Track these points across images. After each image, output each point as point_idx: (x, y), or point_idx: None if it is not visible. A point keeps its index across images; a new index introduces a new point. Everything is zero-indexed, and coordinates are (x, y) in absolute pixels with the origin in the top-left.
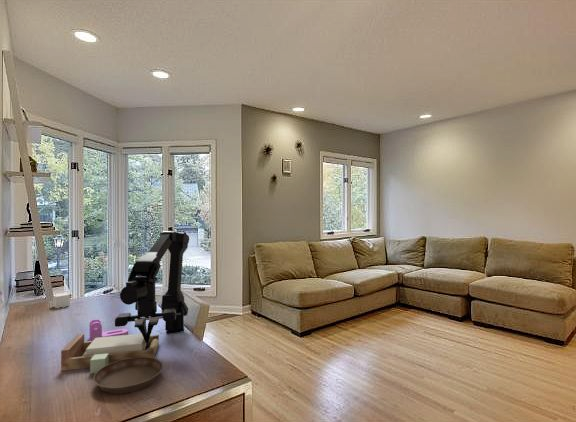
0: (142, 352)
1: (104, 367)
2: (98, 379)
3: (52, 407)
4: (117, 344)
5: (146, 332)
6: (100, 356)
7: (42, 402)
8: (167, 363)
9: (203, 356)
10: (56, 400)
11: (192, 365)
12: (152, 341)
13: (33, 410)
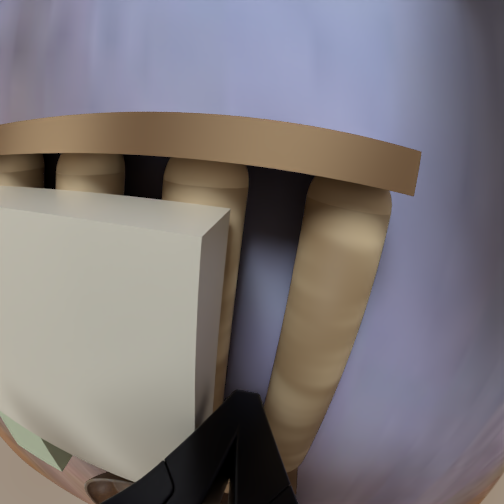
0: None
1: (90, 482)
2: (105, 489)
3: (71, 487)
4: (26, 415)
5: (213, 501)
6: (30, 443)
7: (40, 462)
8: (350, 482)
9: (493, 448)
10: (60, 473)
11: (421, 495)
12: (316, 268)
13: (46, 473)
